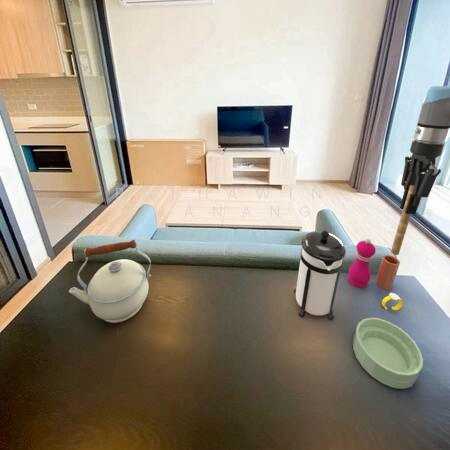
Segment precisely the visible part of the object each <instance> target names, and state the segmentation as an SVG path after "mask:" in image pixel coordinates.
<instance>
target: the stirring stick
mask: <svg viewBox="0 0 450 450" xmlns="http://www.w3.org/2000/svg"><path fill="white" fill-rule="evenodd" d="M414 186H415V185H410V188H409V191H408V194H407V198H406V201H405V205H404V208H403V209H402V212H401V215H400V217H399V218H400V219H399V222H398V226H397V229H396V231H395V236H394V239H393V242H392V245H391V249H390V253H391V254H392V255H394V256H399V254H400V252H401V248H402V245H403V243H404V239H405V235H406V233H407V230H408V226H409V223H410V219H411V217H412V216H411V215H412V214H406V213H405V211H406V208H407V204H408V201H409V198H410V194H413V191H414Z"/></svg>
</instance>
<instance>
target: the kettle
mask: <svg viewBox="0 0 450 450" xmlns="http://www.w3.org/2000/svg"><path fill="white" fill-rule="evenodd" d="M127 249H135V252H136V253H138V255H140V256H142V257H143V258H145V259H146V260H147V261H148V262H149V266H148V269H147V272H146V269H145V267H144V266H143V265H142V264H141V263H138V262H137V261H134V260H132V259H125V258H123V259H122V258H121V259H116V260H112V261H111V262H108V263H106V264H105V265H103V266H101V267H100V268H99V269H98V270H97V271H96V273H95V274H94V275H93V277H92V278H91V279H90V281H89V282H88V285H86V283H85V282H84V281H83V279H81V277H80V274H81V271H83V269H84V267H85V266H86V265H87V263H88V260H89V258H90V257H91V256H94V255H105V254H110V253H115V252H121V251H124V250H127ZM83 254H84V257H85V261H84V262H83V264H82V265H81V267H80V268H79V270H78V272H77V275H76V279H77V282H78V284H79V285H80V286H81V287H82V288H83V290H82V289H79V288H78V287H74V286H73V287H71V288H70V289H69V290H68V293H70V294H71V295H73V296H74V297H75V298H76V299H78V300H80V301H81V302H83V303H84V304H87V305H89V307H90V310H91V311H92V313H93V314H94V315H95V316H96V317H97V318H98V319H101V320H103V321H105V322H107V323H113V324H114V323H116V324H117V323H122V322H124V321H127V320H129V319H131V318H132V317H134V316H135V315H136V314H137V313H138V312H139V311H140V309H141V308H142V306H143V304H144V303H145V302H146V299H147V296H148V293H149V288H150V287H149V279H150V278H151V276H152V275H151V274H150V271H151V268H152V261H151V258H150V257H149V256H148V255H147V254H146V253H144V252H142V251H141V250H140V249H139V248H138V241H137V240H136V239H132V240H130V241H120V242H116V243H110V244H103V245H99V246H96V247H92V248H91V247H87V248H84V251H83Z"/></svg>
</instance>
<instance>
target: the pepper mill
mask: <svg viewBox="0 0 450 450" xmlns="http://www.w3.org/2000/svg"><path fill="white" fill-rule="evenodd" d="M375 254H376V246H375V245H374V244H373V243H372V240H371V239H370V238H365V240H360V241H359V242H357V244H356V253H355V256H356V260H355V261H354V262H353V263H352V264H351V265H350V267H349V269H348V274H349V275H348V278H347V279H348V282H349V283H350V285H352V286H353V287H355V288H357V289H365V288H366V287H367V286H368V282H369V281H370V280H371V274H372V273H371V269H370V262H372V260H373V257H374V255H375Z"/></svg>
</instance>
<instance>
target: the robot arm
mask: <svg viewBox="0 0 450 450" xmlns="http://www.w3.org/2000/svg"><path fill="white" fill-rule="evenodd" d="M449 132H450V86H449V85H447V86H446V85H443V86H442V85H435V86H430V87H429V88H428V89H426V93H425V95H424V98H423V101H422V105H421V109H420V112H419V116H418V120H417V124H416V128H415V130H414V135H413V138H414V139H413V140H412V141H411V144H410V148H409V152H410V153H411V155H410V156H405V157H404V167H403V172H402V177H401V183H400V185H401V186H402V187H403V190H404V191H403V194H402V199H401V203H400V205H399V209H400V210H403V208H404V205H405V201H406V198H407V194H408V191H409V188H410V185H415V186H414V191H413V194H410V198H409V201H408V204H407V208H406V211H405V213H406V214H411V215H416V213H417V210H418V207H419V206H420V203H421V200H422V198H428V197H429V196H430V193H431V191H432V189H433V186H434V184H435V182H436V180H437V177H438V176H440V174H441V172H442V169H441V168H437V167H436V160H437V158H439V157H441V156H442V155H443V151H444V148H445V144H444V143H446V142H447V139H448V135H449Z"/></svg>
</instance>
